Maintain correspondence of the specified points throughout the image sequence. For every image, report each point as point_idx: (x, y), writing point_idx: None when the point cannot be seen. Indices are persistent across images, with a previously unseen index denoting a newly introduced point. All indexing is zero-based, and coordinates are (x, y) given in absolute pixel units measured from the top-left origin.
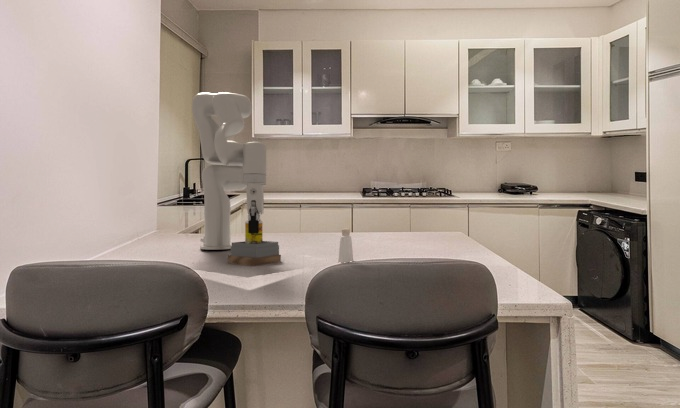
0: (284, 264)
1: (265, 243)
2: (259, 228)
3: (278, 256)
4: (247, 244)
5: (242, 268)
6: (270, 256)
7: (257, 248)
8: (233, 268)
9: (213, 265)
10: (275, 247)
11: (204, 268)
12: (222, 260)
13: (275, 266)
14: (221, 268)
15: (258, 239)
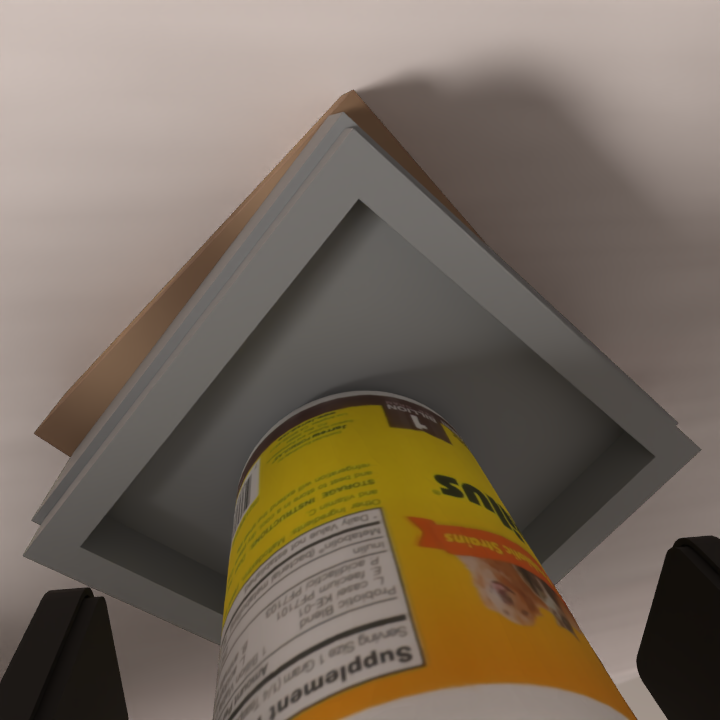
0: (559, 53)
1: (583, 341)
2: (562, 603)
3: (381, 125)
4: (581, 548)
5: (700, 431)
6: (474, 230)
7: (659, 407)
8: (677, 490)
9: None
10: (409, 175)
11: (613, 651)
12: (164, 652)
13: (680, 160)
14: (648, 562)
15: (482, 475)
